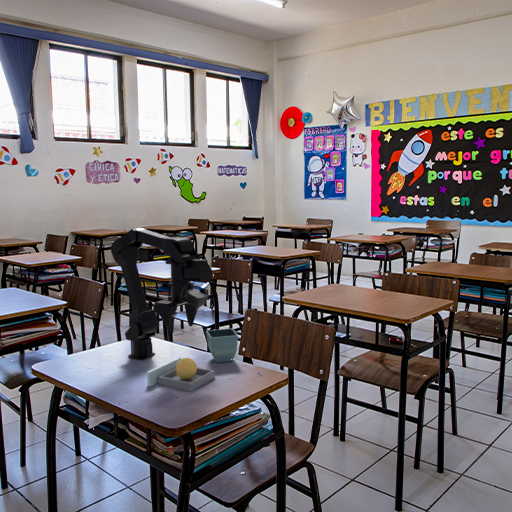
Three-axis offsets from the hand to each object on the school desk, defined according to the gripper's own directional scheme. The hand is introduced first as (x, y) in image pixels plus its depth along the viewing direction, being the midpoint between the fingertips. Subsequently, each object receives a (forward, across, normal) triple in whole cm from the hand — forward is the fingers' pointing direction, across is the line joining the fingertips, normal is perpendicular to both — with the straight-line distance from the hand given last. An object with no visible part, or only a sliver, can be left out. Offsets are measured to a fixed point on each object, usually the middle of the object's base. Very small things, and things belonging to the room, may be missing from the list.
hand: (181, 329), depth 151 cm
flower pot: (+12, +11, -8) cm, 18 cm away
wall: (+12, -10, -2) cm, 16 cm away
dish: (+11, -9, -9) cm, 17 cm away
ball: (+11, -9, -9) cm, 17 cm away
